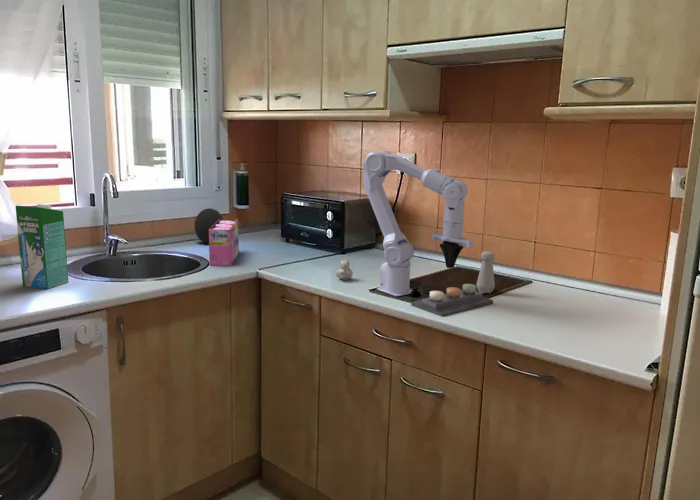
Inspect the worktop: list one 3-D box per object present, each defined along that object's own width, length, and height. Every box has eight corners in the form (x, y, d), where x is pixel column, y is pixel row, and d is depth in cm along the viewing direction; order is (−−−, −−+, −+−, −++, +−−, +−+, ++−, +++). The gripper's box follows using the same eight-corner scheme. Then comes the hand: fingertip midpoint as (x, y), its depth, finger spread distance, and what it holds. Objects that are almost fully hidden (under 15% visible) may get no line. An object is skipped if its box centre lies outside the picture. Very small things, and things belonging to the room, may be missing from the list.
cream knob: (426, 306, 168) (426, 292, 167) (435, 303, 170) (436, 289, 169) (436, 309, 165) (437, 295, 164) (445, 307, 167) (446, 293, 166)
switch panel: (411, 305, 170) (411, 296, 169) (462, 293, 183) (462, 285, 182) (441, 316, 160) (442, 307, 160) (492, 303, 174) (493, 294, 173)
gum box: (219, 252, 234) (219, 218, 231) (239, 252, 234) (239, 218, 231) (209, 266, 210) (208, 228, 208) (231, 266, 211) (230, 229, 208)
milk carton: (68, 282, 184) (62, 203, 179) (47, 289, 176) (40, 207, 171) (45, 279, 187) (38, 201, 182) (22, 286, 178) (14, 205, 173)
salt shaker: (481, 288, 190) (484, 249, 187) (497, 291, 186) (500, 252, 184) (472, 292, 185) (475, 252, 183) (489, 295, 182) (492, 254, 179)
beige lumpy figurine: (354, 278, 199) (355, 255, 197) (349, 283, 192) (349, 259, 191) (339, 276, 200) (339, 254, 198) (333, 281, 194) (334, 258, 192)
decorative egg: (206, 239, 258) (205, 205, 254) (230, 242, 253) (229, 207, 250) (188, 244, 246) (187, 209, 243) (213, 247, 242) (212, 211, 239)
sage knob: (459, 298, 176) (459, 285, 175) (467, 296, 179) (468, 283, 178) (469, 301, 173) (470, 288, 172) (478, 299, 176) (479, 286, 175)
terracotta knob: (442, 302, 172) (443, 288, 171) (452, 300, 174) (453, 286, 174) (453, 305, 169) (454, 291, 168) (462, 303, 171) (463, 289, 170)
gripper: (425, 219, 174) (423, 263, 177) (463, 227, 163) (459, 274, 166) (442, 217, 178) (439, 261, 181) (479, 225, 167) (475, 271, 170)
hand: (450, 267), depth 174 cm, fingers closed
